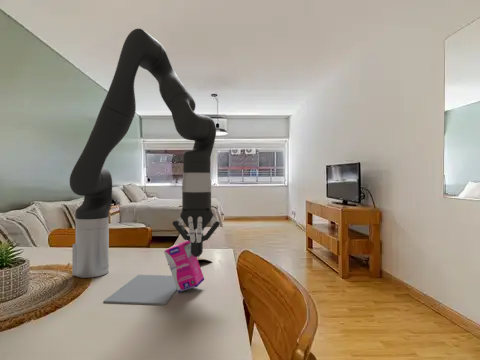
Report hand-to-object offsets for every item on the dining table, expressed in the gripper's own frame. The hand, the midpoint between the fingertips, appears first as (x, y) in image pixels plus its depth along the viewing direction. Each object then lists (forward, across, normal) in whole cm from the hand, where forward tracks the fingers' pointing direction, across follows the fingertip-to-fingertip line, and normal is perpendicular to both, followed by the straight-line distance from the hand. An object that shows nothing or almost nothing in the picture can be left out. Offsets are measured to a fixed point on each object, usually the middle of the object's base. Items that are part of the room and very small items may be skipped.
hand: (196, 256), depth 82 cm
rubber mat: (+9, +13, 0) cm, 15 cm away
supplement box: (+8, +1, 0) cm, 8 cm away
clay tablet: (+10, +8, -25) cm, 28 cm away
